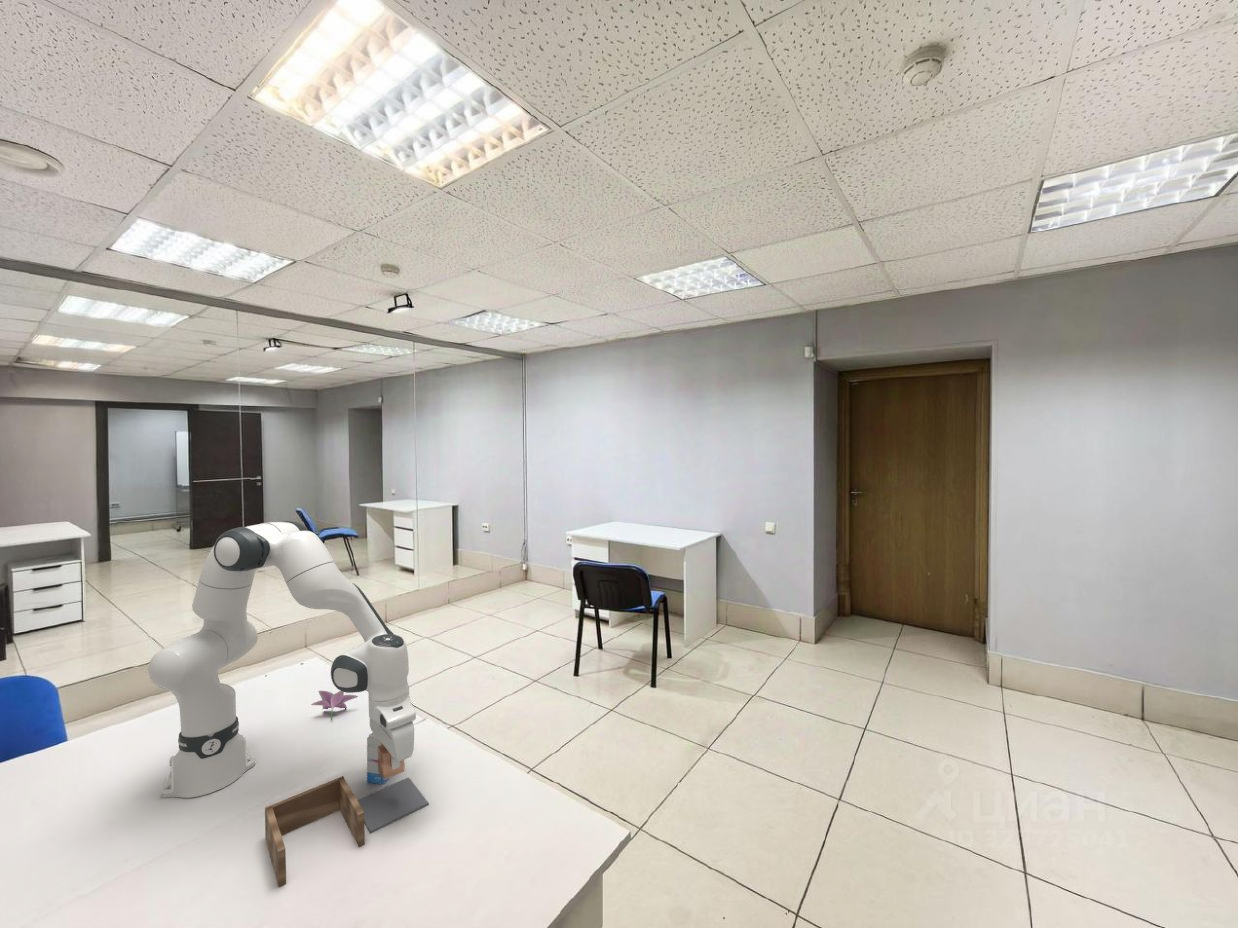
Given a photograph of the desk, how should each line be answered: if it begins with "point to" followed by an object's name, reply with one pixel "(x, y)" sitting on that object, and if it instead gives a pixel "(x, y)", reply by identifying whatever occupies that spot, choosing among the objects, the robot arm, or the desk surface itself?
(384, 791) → the slate mat
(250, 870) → the desk surface
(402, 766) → the terracotta block
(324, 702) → the lily
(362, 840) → the walnut cubby
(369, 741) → the ink box
